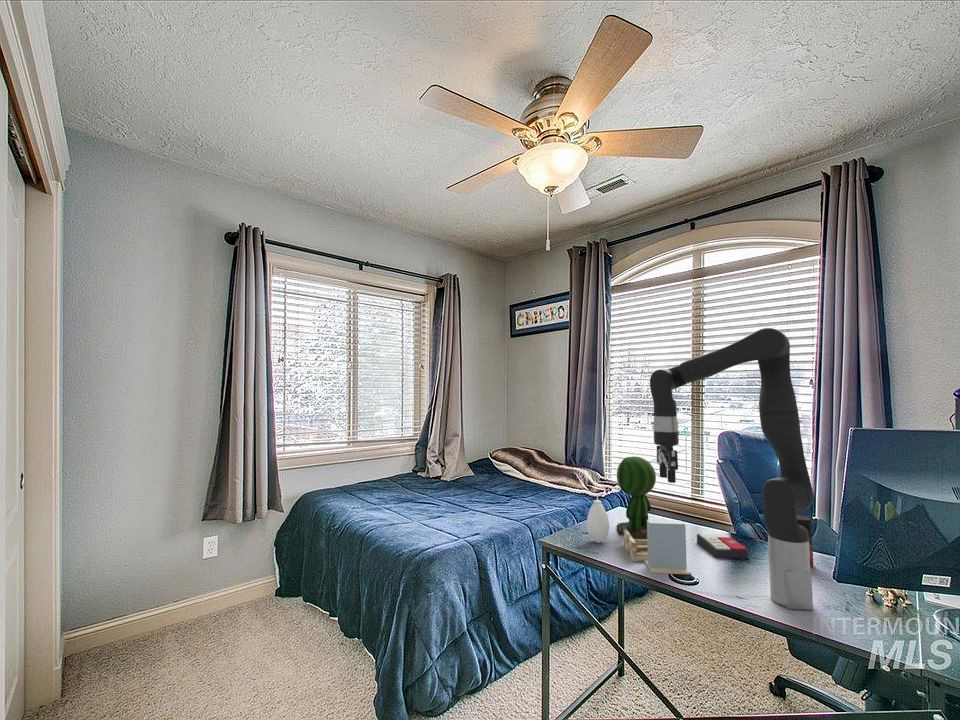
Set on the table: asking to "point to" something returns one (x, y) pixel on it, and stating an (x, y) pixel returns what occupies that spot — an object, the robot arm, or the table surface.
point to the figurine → (636, 494)
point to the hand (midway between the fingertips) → (667, 479)
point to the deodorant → (807, 524)
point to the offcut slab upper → (641, 548)
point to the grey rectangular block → (666, 544)
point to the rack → (634, 547)
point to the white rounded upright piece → (597, 522)
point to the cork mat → (668, 570)
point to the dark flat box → (721, 545)
